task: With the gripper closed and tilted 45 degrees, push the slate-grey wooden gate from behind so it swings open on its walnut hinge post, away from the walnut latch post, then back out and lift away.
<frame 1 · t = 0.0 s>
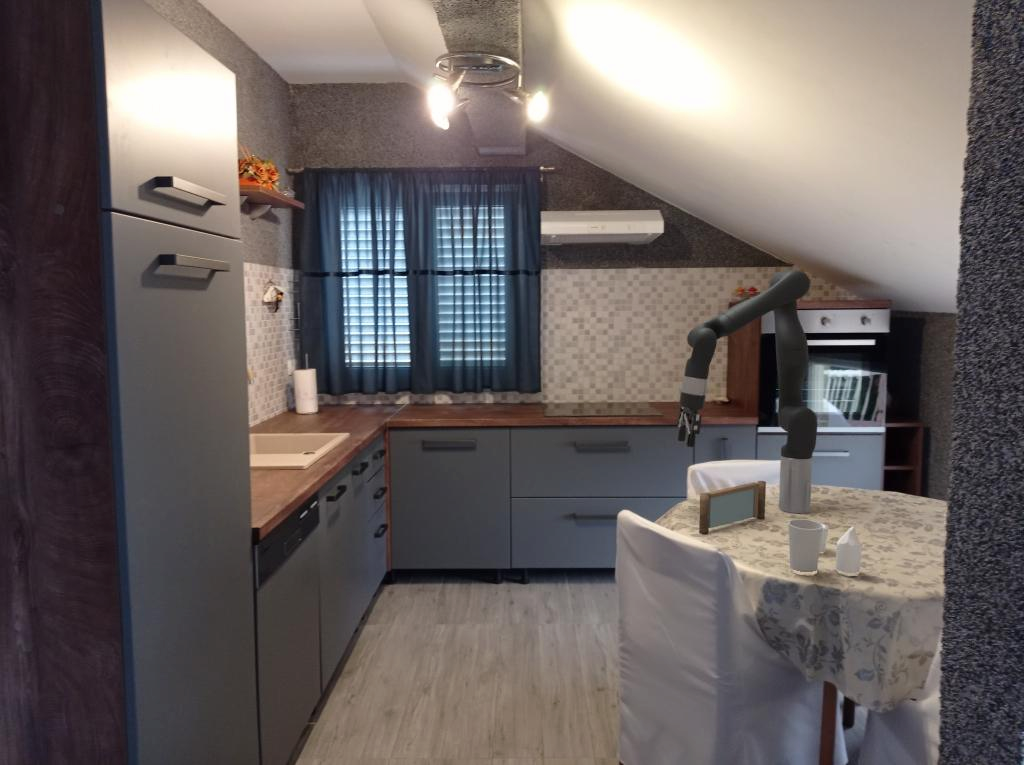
hand: (685, 443, 216), 22 cm above the table, tool pointing down, fingers open, 8 cm apart
white pointed prism: (847, 573, 172), on the table
cup: (803, 571, 174), on the table
gate posts: (703, 532, 202), on the table
gate: (732, 504, 207), point 6 cm above the table, hinge at 0.0°
shot glass: (813, 551, 187), on the table
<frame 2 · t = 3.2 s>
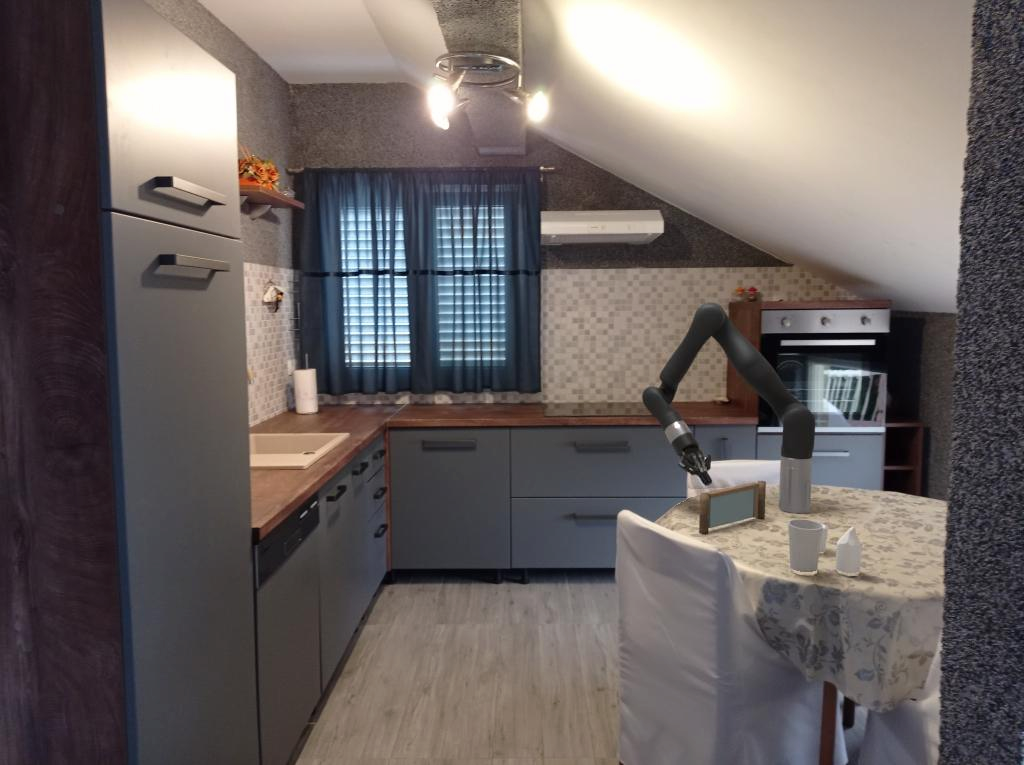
hand: (709, 484, 215), 10 cm above the table, tool tilted 45°, fingers closed
nothing on the table moved.
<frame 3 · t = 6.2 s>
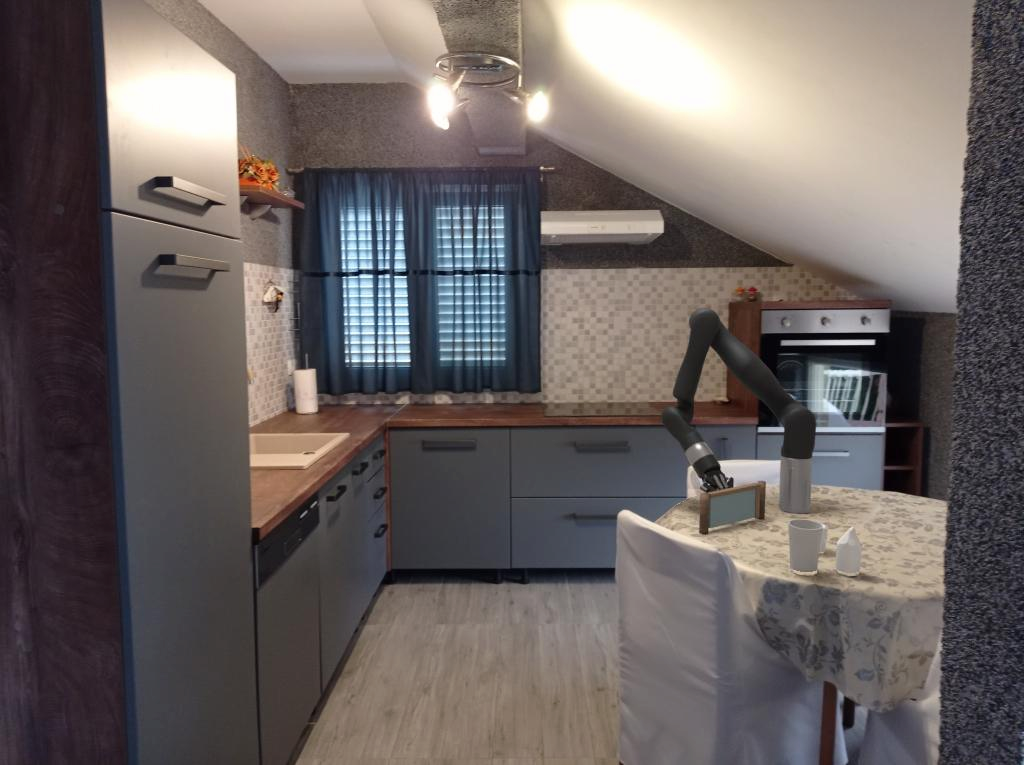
hand: (732, 508, 208), 5 cm above the table, tool tilted 45°, fingers closed
gate: (733, 505, 207), point 6 cm above the table, hinge at 1.6°, touching gripper
everything else where it was.
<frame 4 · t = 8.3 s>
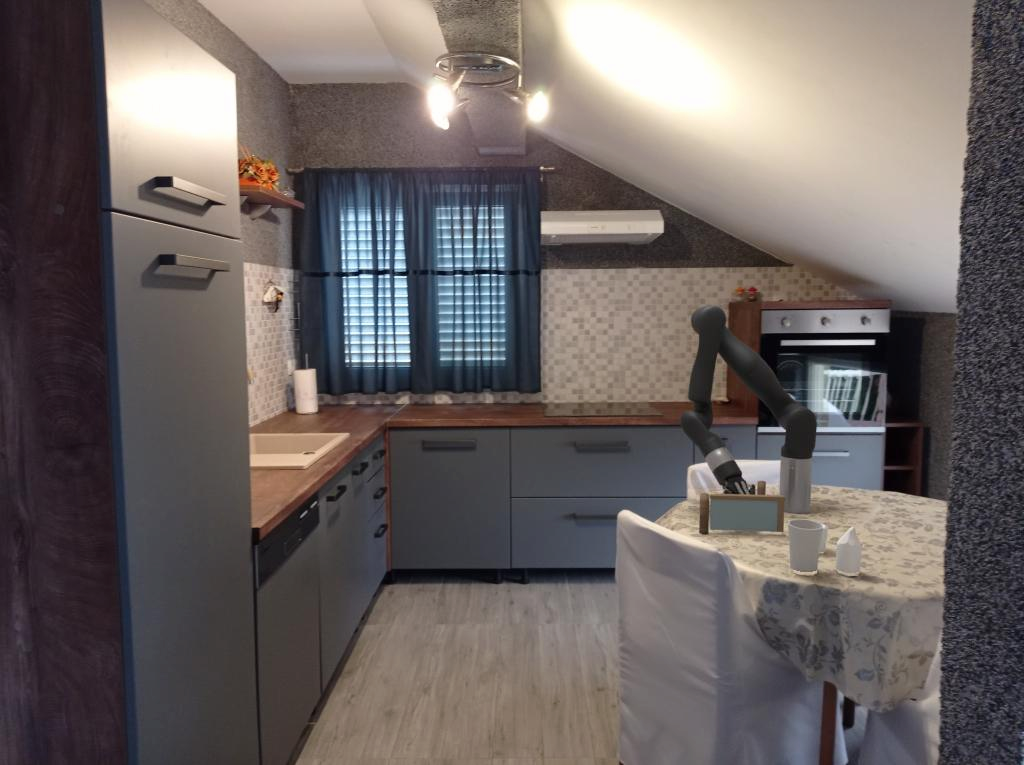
hand: (754, 517, 201), 5 cm above the table, tool tilted 45°, fingers closed
gate: (746, 512, 199), point 6 cm above the table, hinge at 38.1°
everything else where it was.
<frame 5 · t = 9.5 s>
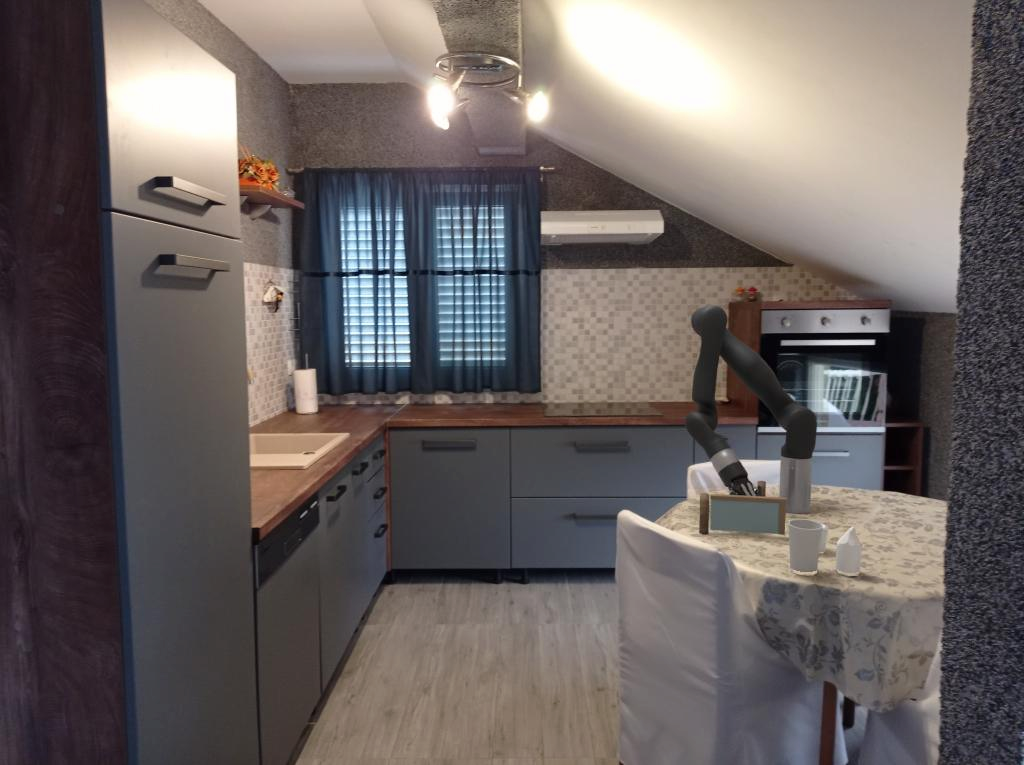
hand: (760, 518, 199), 5 cm above the table, tool tilted 45°, fingers closed
gate: (747, 514, 198), point 6 cm above the table, hinge at 44.0°, touching gripper
everything else where it was.
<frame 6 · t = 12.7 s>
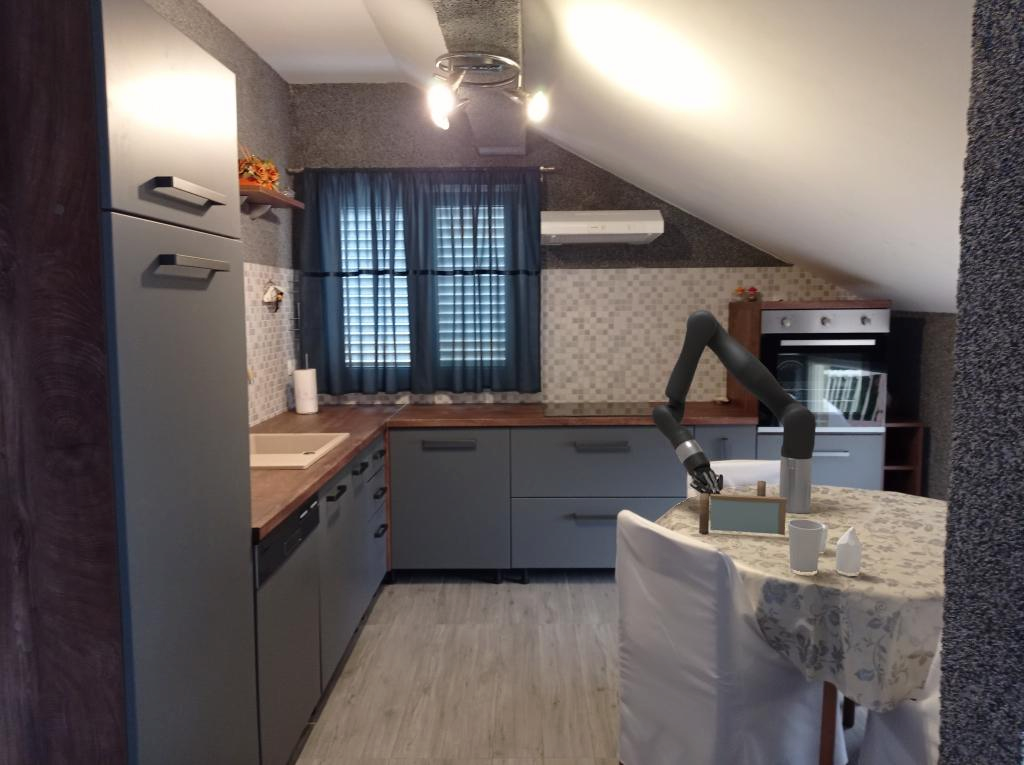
hand: (721, 505, 212), 5 cm above the table, tool tilted 45°, fingers closed
gate: (747, 514, 198), point 6 cm above the table, hinge at 44.0°
everything else where it was.
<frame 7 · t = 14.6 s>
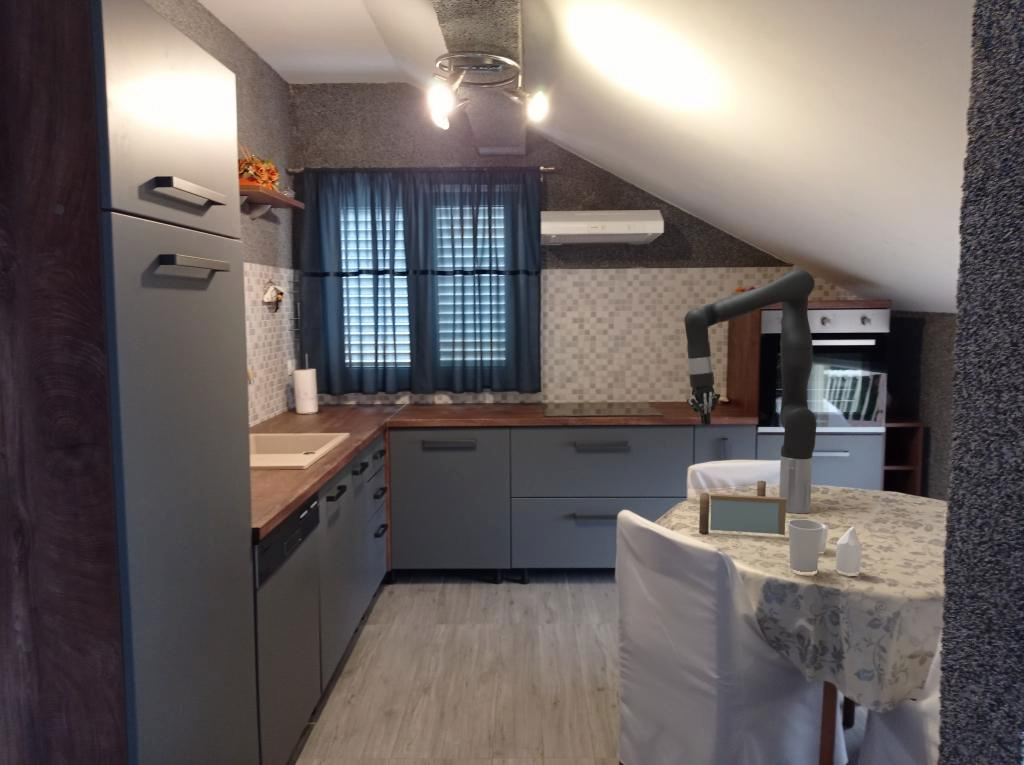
hand: (706, 425, 224), 26 cm above the table, tool pointing down, fingers closed
nothing on the table moved.
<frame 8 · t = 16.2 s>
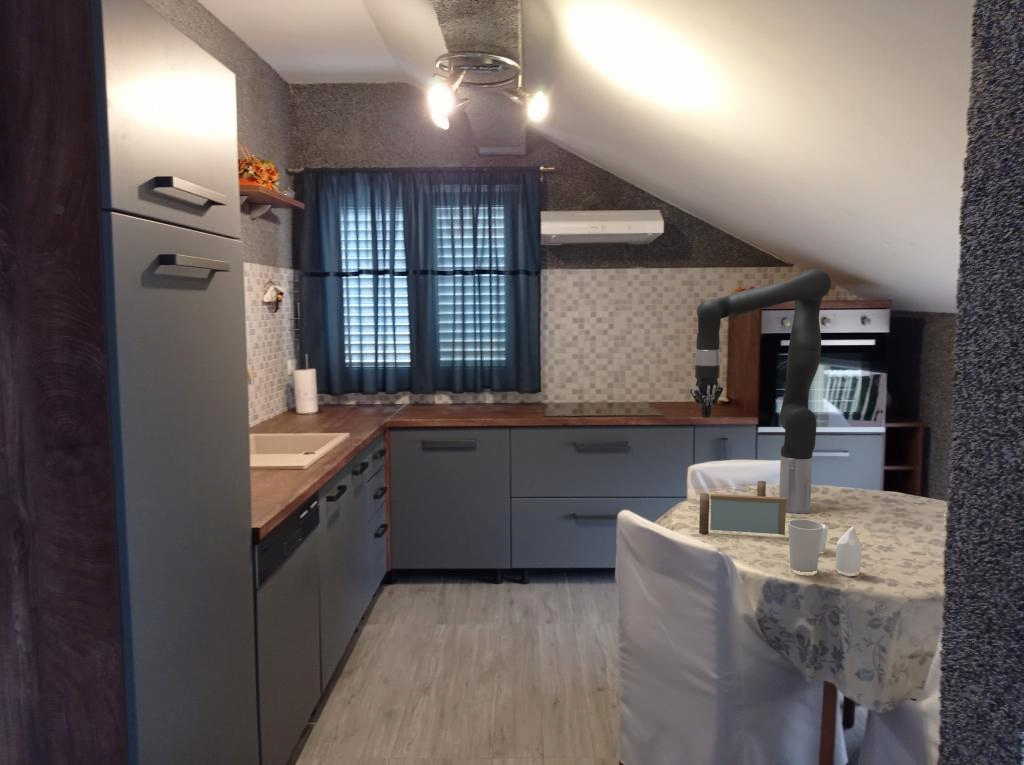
hand: (706, 417, 224), 29 cm above the table, tool pointing down, fingers closed
nothing on the table moved.
at the end: gate at +44° (first picture: +0°) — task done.
